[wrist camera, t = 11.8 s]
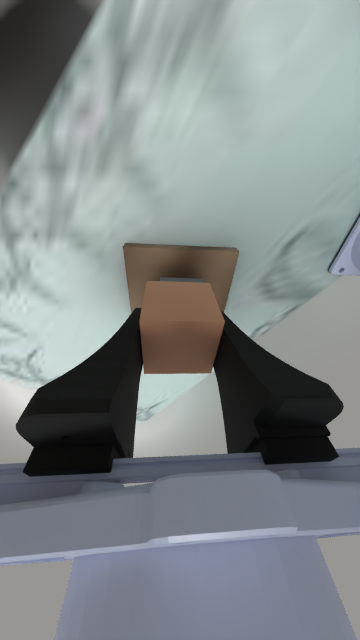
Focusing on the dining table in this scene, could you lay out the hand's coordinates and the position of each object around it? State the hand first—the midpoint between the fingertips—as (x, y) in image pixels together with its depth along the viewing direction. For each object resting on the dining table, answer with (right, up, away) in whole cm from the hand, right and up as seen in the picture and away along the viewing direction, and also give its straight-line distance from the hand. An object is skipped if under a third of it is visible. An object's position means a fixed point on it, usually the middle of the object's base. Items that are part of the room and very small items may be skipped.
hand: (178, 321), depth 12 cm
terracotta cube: (0, +1, +1) cm, 1 cm away
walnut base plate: (0, +3, +8) cm, 8 cm away
